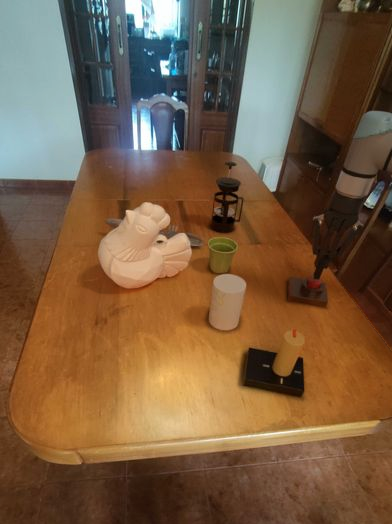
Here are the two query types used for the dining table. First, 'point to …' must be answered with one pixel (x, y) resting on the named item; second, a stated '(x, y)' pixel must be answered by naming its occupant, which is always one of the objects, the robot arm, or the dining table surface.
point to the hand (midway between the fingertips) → (316, 276)
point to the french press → (226, 204)
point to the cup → (226, 301)
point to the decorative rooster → (143, 248)
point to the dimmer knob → (288, 353)
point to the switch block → (306, 292)
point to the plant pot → (221, 253)
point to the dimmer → (272, 374)
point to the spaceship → (192, 238)
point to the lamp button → (314, 283)
